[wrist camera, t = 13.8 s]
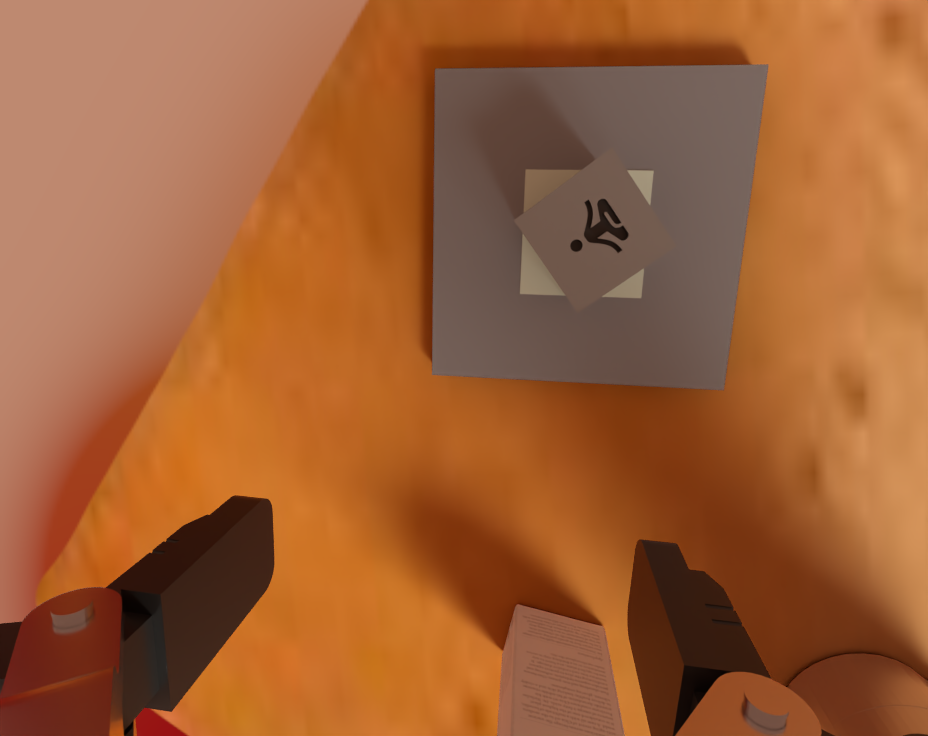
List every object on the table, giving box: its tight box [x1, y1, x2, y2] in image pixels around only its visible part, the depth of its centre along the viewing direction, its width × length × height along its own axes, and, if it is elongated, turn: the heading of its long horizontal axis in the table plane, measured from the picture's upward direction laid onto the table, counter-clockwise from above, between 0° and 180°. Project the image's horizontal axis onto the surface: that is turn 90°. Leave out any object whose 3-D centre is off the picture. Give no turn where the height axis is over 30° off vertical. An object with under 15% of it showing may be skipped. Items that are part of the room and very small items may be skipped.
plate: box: [432, 65, 768, 390], centre depth 30 cm, size 16×16×2 cm
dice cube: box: [514, 148, 676, 313], centre depth 26 cm, size 5×5×5 cm
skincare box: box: [497, 604, 625, 736], centre depth 31 cm, size 6×4×12 cm
